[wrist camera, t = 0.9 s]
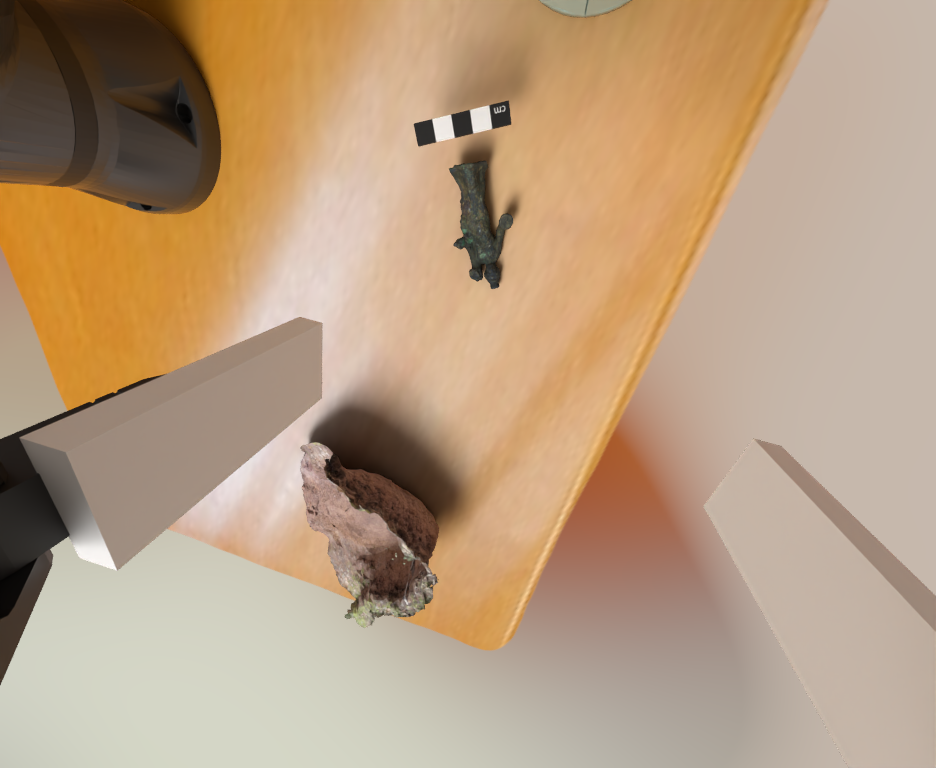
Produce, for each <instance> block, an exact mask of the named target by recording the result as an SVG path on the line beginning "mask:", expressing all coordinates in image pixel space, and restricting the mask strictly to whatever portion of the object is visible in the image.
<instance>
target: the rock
mask: <svg viewBox="0 0 936 768" xmlns="http://www.w3.org/2000/svg"><path fill="white" fill-rule="evenodd" d="M301 449H302V450H301V451H304V452H305V453H306V454H305V457H304V458H303V459H302V461H301V469H300V471H301V473H302V478H303V481H304V484H303V486H302V490H303V492H304V494H303V496H304V499H305V502H306V505H307V510H306V515H307V521H308V523H309V524H310V527H311V528H312V529H313V530H315V531H319V532H321V533H324V534H325V535H326V536H327V537H328V538H329V547H328V555H329V556H330V559H331V563H332V564H333V566H334V569H335V571H336V573H337V574H336V575H337V577H338V580H339V583H340V584H341V586H342V587H344V588H346V589H347V590H348V591H349V592H350V593H351V595H352V596H353V597H355V598H356V600H355V602H354V603H352V604H351V610H348V614H346V615H345V618H347V619H350V618H352V617H353V618H355V619H356V622H357V623H358V624H359V625H360V626H361V627H363V628H366V627H367V626H369V625H372V622H374V619H375V618H374V617H376V616H377V617H381V616H382V615H388V616H389V615H394V616H395V617H410V616H413V615H415V613H416V612H419V611H420V610H422V609H425V605H424V604H428V603H430V601H431V600H432V599H433V586H434V585H435V584H436V583H438V582H437V577H436V575H435V574H434V575H432V572H431V570H430V569H429V567H428V563H429V559H430V558H431V557H432V552H433V550H434V548H435V546H436V542H437V538H438V533H439V527H438V525H437V523H436V521H435V519H434V516H433V515H432V514H431V513H430V512H429V511H428V510H427V508H426V507H425V506H424V504H423V503H422V502H421V501H420V500H419V499H417V498H416V497H415V496H413V495H412V494H411V493H410V492H408V491H407V490H404V489H402V488H400V487H399V486H397V485H396V484H394V483H392V480H390V479H387V478H385V477H383V476H381V475H379V474H376V473H368V472H366V471H364V470H362V469H359V470H348V469H345V468H344V467H343V466H341V463H340V460H339V458H338V456H336V455H335V454H334V453H333V452H332V451H331V450H330V449H329V448H328V447H327V446H325V445H322V444H321V443H317V442H315V443H309V444H307V445H303V446H301ZM431 584H432V585H433V586H432V587H430V586H431Z"/></svg>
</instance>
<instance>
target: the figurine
mask: <svg viewBox="0 0 936 768" xmlns="http://www.w3.org/2000/svg"><path fill="white" fill-rule="evenodd" d="M507 125H511V117H510V108H509V101H505V102H501V103H496V104H492V105H488V106H484V107H480V108H476V109H472V110H468V111H464V112H460V113H456V114H452V115H447V116H443V117H439V118H435V119H431V120H427V121H423V122H419V123H415V124H414V127H415V132H416V137H417V142H418V146H423V145H427V144H431V143H435V142H440V141H444V140H448V139H452V138H457V137H461V136H465V135H469V134H474V133H478V132H482V131H486V130H490V129H495V128H499V127H503V126H507ZM487 168H488V164H487V161H479V162H477V163H468V164H461V165H454V167H453V168H450V169H449V171H450V173H451V174H452V176H453V177H454V179H455V180H456V182H457V184H458V185H459V188H460V190H461V200H460V203H461V210H462V215H461V220H460V223H461V230H462V232H463V234H464V236H463V237H462V238H459V239H457V240H456V242H455V243H454V246H456V247H457V248H459V249H463V247H465V248H466V249H467V251H468V253H469V256H470V260H471V264H472V269H471V270H470V271H469V273H470V277H471V278H472V279H474V280H476V281H479V280H482V278H483V273H482V264H486V270H485V273H484V277H485V278H486V279H487V281H488V282H489V283H490V285H491V289H495V288H498V287H499V283H498V282H499V278H500V270H499V268H498V267H497V266H496V264H495V263H496V261H497V260H498V258H499V256H500V254H501V249H502V241H503V236H504V231H505V230H506V229H509V228H510V227H511V226H512V224H513V217H512V216H511V215H510V214H508V213H507V214H503V215H502V216H501V218H500V220H499V226H498V228H497V230H496V236H495V237H494V235H493V234H492V233H491V230H490V220H489V214H488V210H487V207H486V205H485V181H486V180H485V171H486V170H487Z"/></svg>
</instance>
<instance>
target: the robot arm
mask: <svg viewBox="0 0 936 768" xmlns="http://www.w3.org/2000/svg"><path fill="white" fill-rule="evenodd" d="M220 161H221V140H220V131H219V125H218V120H217V116H216V112H215V108H214V105H213V102H212V99H211V96H210V93H209V91H208V89H207V86H206V84H205V82H204V80H203V78H202V76H201V74H200V72H199V70H198V68H197V66H196V65H195V63H194V61H193V60H192V58H191V57H190V55H189V54H188V52H187V51H186V50H185V48H184V47H183V46H182V44H181V43H180V42H179V41H178V40H177V38H176V37H175V36H174V35H173V34H172V33H171V32H170V31H169V30H168V29H167V28H166V27H165V26H164V25H163V24H161V23H160V22H159V21H158V20H156V19H155V18H154V17H152V16H151V15H149V14H148V13H146V12H144V11H142V10H140V9H138V8H137V7H135V6H133V5H131V4H129V3H127V2H125V1H123V0H0V183H10V184H27V185H46V186H59V187H69V188H73V189H76V190H79V191H82V192H85V193H88V194H91V195H94V196H97V197H100V198H103V199H106V200H109V201H112V202H115V203H118V204H121V205H125V206H128V207H130V208H133V209H136V210H139V211H143V212H148V213H154V214H182V213H186V212H189V211H192V210H194V209H196V208H197V207H199V206H200V205H201V204H202V203H203V202H204V201H205V200H206V199H207V198H208V196H209V195H210V193H211V192H212V190H213V188H214V186H215V183H216V181H217V177H218V173H219V169H220ZM321 398H322V323H320V322H317V321H313V320H309V319H305V318H302V317H298V318H296V319H294V320H291V321H289V322H287V323H284V324H282V325H280V326H277V327H275V328H273V329H270V330H268V331H266V332H263V333H261V334H259V335H256V336H254V337H252V338H249V339H247V340H245V341H242V342H240V343H238V344H235V345H233V346H231V347H228V348H226V349H224V350H222V351H219V352H217V353H215V354H212V355H210V356H208V357H205V358H203V359H201V360H198V361H196V362H194V363H191V364H189V365H187V366H184V367H182V368H180V369H177V370H175V371H173V372H170V373H168V374H164V375H160V376H156V377H151V378H147V379H143V380H141V381H138V382H136V383H133V384H131V385H129V386H126V387H124V388H122V389H119V390H117V393H113V392H112V393H110V394H107V395H105V396H102V397H100V398H98V399H95V402H94V403H91V402H88V403H86V404H83V405H81V406H79V407H76V408H74V409H71V410H69V411H67V412H64V413H62V414H59V415H57V416H55V417H53V418H50V419H47V420H45V421H43V422H40V423H38V424H36V425H33V426H31V427H28V428H26V429H24V430H21V431H19V432H16V433H14V434H12V435H10V436H7V437H4V438H2V439H0V685H1V682H2V680H3V678H4V675H5V673H6V671H7V668H8V666H9V664H10V661H11V659H12V657H13V654H14V652H15V650H16V647H17V645H18V643H19V641H20V638H21V636H22V634H23V631H24V629H25V626H26V624H27V622H28V620H29V617H30V615H31V613H32V611H33V608H34V606H35V603H36V601H37V599H38V597H39V594H40V592H41V590H42V587H43V585H44V583H45V580H46V578H47V576H48V573H49V571H50V569H51V566H52V559H53V554H52V552H51V550H50V549H51V548H52V547H54V546H55V545H57V544H58V543H59V542H61V541H62V540H64V539H65V538H67V537H68V536H69V538H70V540H71V542H72V544H73V546H74V548H75V550H76V552H77V554H78V556H79V557H80V558H81V559H84V560H87V561H90V562H93V563H96V564H99V565H102V566H105V567H108V568H111V569H114V570H118V569H120V568H121V567H122V566H123V565H124V564H126V563H127V562H128V561H129V560H130V559H132V558H133V557H134V556H135V555H136V554H138V553H139V552H140V551H141V550H142V549H143V548H145V547H146V546H147V545H148V544H149V543H151V542H152V541H153V540H154V539H155V538H156V537H158V536H159V535H160V534H161V533H162V532H164V531H165V530H166V529H167V528H168V527H170V526H171V525H172V524H173V523H174V522H175V521H177V520H178V519H179V518H180V517H181V516H183V515H184V514H185V513H186V512H187V511H189V510H190V509H191V508H192V507H193V506H194V505H196V504H197V503H198V502H199V501H200V500H202V499H203V498H204V497H205V496H206V495H207V494H209V493H210V492H211V491H212V490H213V489H215V488H216V487H217V486H218V485H219V484H220V483H222V482H223V481H224V480H225V479H226V478H228V477H229V476H230V475H231V474H232V473H233V472H235V471H236V470H237V469H238V468H239V467H241V466H242V465H243V464H244V463H245V462H247V461H248V460H249V459H250V458H251V457H252V456H254V455H255V454H256V453H257V452H258V451H260V450H261V449H262V448H263V447H264V446H265V445H267V444H268V443H269V442H270V441H271V440H273V439H274V438H275V437H276V436H277V435H278V434H280V433H281V432H282V431H283V430H284V429H286V428H287V427H288V426H289V425H290V424H292V423H293V422H294V421H295V420H296V419H297V418H299V417H300V416H301V415H302V414H303V413H305V412H306V411H307V410H308V409H309V408H310V407H312V406H313V405H314V404H315V403H316V402H318V401H319V400H320V399H321ZM704 508H705V510H706V512H707V514H708V516H709V518H710V519H711V521H712V523H713V525H714V527H715V528H716V530H717V532H718V534H719V535H720V537H721V539H722V541H723V543H724V545H725V546H726V548H727V550H728V551H729V553H730V555H731V557H732V559H733V561H734V563H735V564H736V566H737V568H738V570H739V572H740V573H741V575H742V577H743V579H744V580H745V582H746V584H747V586H748V588H749V589H750V591H751V593H752V595H753V597H754V598H755V600H756V602H757V604H758V606H759V608H760V609H761V611H762V613H763V615H764V617H765V618H766V620H767V622H768V624H769V625H770V627H771V629H772V631H773V633H774V635H775V636H776V638H777V640H778V642H779V644H780V645H781V647H782V649H783V651H784V653H785V654H786V656H787V658H788V660H789V662H790V663H791V665H792V667H793V669H794V670H795V672H796V674H797V676H798V678H799V680H800V681H801V683H802V685H803V687H804V689H805V690H806V692H807V694H808V696H809V698H810V700H811V701H812V703H813V705H814V707H815V709H816V710H817V712H818V714H819V716H820V717H821V719H822V721H823V723H824V725H825V727H826V728H827V730H828V732H829V734H830V735H831V737H832V739H833V741H834V743H835V745H836V746H837V748H838V750H839V752H840V754H841V755H842V757H843V759H844V760H845V762H846V764H847V766H848V768H936V596H935V595H934V594H933V593H932V592H931V591H930V590H929V589H928V588H927V587H926V586H925V585H924V584H923V583H922V582H921V581H920V580H919V579H918V578H917V577H916V576H915V575H913V573H912V572H911V571H910V570H908V568H906V567H905V566H904V565H903V564H902V563H901V562H900V561H899V560H898V559H897V558H896V557H895V556H894V555H893V554H892V553H891V552H890V551H889V550H888V549H887V548H886V547H885V546H884V545H883V544H882V543H881V542H880V541H878V540H877V538H876V537H874V536H873V535H872V534H871V533H870V532H869V531H868V530H867V529H866V528H865V527H864V526H863V525H862V524H861V523H860V522H859V521H858V520H857V519H856V518H855V517H854V516H853V515H852V514H851V513H850V512H849V511H848V510H847V509H846V508H845V507H843V506H842V505H841V504H840V503H839V502H838V501H837V500H836V499H835V498H834V497H833V496H832V495H831V494H830V493H829V492H828V491H827V490H826V489H825V488H824V487H823V486H822V485H821V484H820V483H819V482H818V481H817V480H816V479H815V478H813V476H811V475H810V474H809V473H808V472H807V471H806V470H805V469H804V468H803V467H802V466H801V465H800V464H799V463H798V462H797V461H796V460H795V459H794V458H793V457H792V456H791V455H790V454H789V453H788V452H787V451H786V450H785V449H784V448H782V446H779V445H776V444H772V443H768V442H764V441H761V440H757V439H753V440H752V441H751V442H750V444H749V445H748V447H747V448H746V449H745V450H744V452H743V453H742V455H741V456H740V457H739V459H738V460H737V461H736V463H735V464H734V465H733V467H732V468H731V470H730V471H729V472H728V474H727V475H726V476H725V478H724V479H723V481H722V482H721V483H720V484H719V486H718V487H717V489H716V490H715V491H714V493H713V494H712V495H711V497H710V498H709V499H708V501H707V502H706V503H705V505H704Z"/></svg>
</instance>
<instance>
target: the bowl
mask: <svg viewBox="0 0 936 768" xmlns="http://www.w3.org/2000/svg"><path fill="white" fill-rule="evenodd" d="M539 1H540V2H541V3H542V4H544V5H545V6H547V7H548V8H550V9H551V10H553V11H555V12H557V13H560V14H562V15H566V16H570V17H581V18H586V17H595V16H599V15H603V14H606V13H609V12H611V11H614V10H616V9H618V8H620V7H622V6H624V5H625V4H627V3H629V2H630V1H632V0H539Z"/></svg>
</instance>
